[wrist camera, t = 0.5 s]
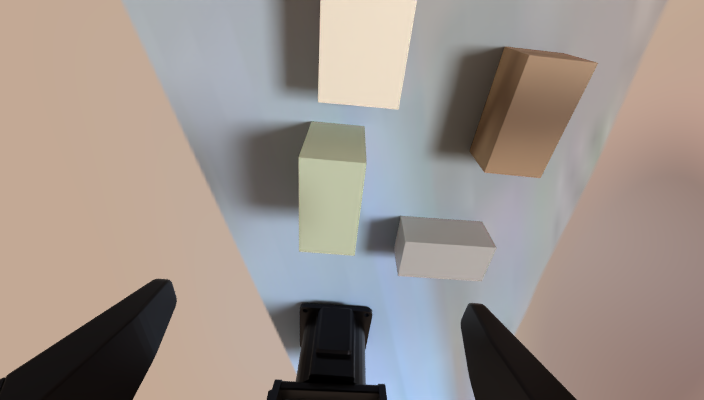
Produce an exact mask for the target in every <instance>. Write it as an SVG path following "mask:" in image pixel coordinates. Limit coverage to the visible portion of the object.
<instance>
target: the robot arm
mask: <svg viewBox="0 0 704 400" xmlns="http://www.w3.org/2000/svg"><path fill="white" fill-rule="evenodd" d="M176 302H177V300H176V295H175V291H174V288H173V285H172V282H171V281H170V280H168V279H155V280H152V281H151V282H150V283H148V284H146V285H145V286H143V287H142V288H140V289H139V290H137V291H135V292H134V293H133V294H131V295H129V296H128V297H126V298H125V299H124V300H122V301H120V302H119V303H117V304H116V305H114V306H113V307H111V308H109V309H108V310H106V311H105V312H103V313H102V314H100V315H99V316H97V317H95V318H94V319H92V320H91V321H90V322H88V323H86V324H85V325H83V326H82V327H80V328H79V329H77V330H76V331H74V332H72V333H71V334H69V335H68V336H66V337H65V338H63V339H62V340H60V341H59V342H57V343H56V344H54V345H52V346H51V347H49V348H48V349H46V350H45V351H43V352H42V353H40V354H39V355H37V356H36V357H34V358H32V359H31V360H30V361H28V362H26V363H25V364H23V365H22V366H20V367H19V368H17V369H16V370H14V371H12V372H11V373H10V374H8V375H7V376H6V378H2V379H0V400H133V398H134V396H135V394H136V392H137V390H138V388H139V386H140V384H141V383H142V381H143V379H144V377H145V375H146V373H147V371H148V369H149V367H150V366H151V364H152V362H153V359H154V357H155V355H156V353H157V351H158V348H159V346H160V343H161V341H162V338H163V336H164V333H165V331H166V329H167V326H168V323H169V321H170V318H171V316H172V314H173V311H174V309H175V306H176ZM371 319H372V310H371V309H370V308H362V307H348V306H335V305H321V304H307V303H306V304H302V305H301V307H300V347H301V352H300V359H299V365H298V371H297V377H296V382H290V381H289V382H288V381H282V380H275V381H274V385H273V388H272V390H270V391H268V396H267V400H387V395H386V388H385V384H378V385H366V381H365V349H366V344H367V339H368V334H369V329H370V324H371ZM461 331H462V337H463V343H464V349H465V355H466V361H467V367H468V372H469V378H470V382H471V386H472V389H473V393H474V397H475V400H576V398H575V397H574V396H573V395H572V394H571V393H570V392H569V391H568V390H567V389H566V388H565V387H564V386H563V385H562V384H561V383H560V382H559V381H558V380H557V379H556V378H555V377H554V376H553V375H552V374H551V373H550V372H549V371H548V370H547V369H546V368H545V367H544V366H543V365H542V364H541V363H540V362H539V361H538V360H537V359H536V358H535V357H534V355H533V354H532V353H531V352H529V350H528V349H527V348H526V347H525V346H524V345H523V344H522V343H521V342H520V341H519V340H518V339H517V338H516V337H515V336H514V335H513V334H512V333H511V332H510V331H509V330H508V329H507V328H506V327H505V326H504V325H503V324H502V323H501V322H500V321H499V320H498V319H497V318H496V317H495V316H494V315H493V314H492V313H491V312H490V311H489V309H488V308H487V307H486V306H484V305H483V304H478V303H470V304H468V306H467V308H466V310H465V312H464V315H463V317H462V319H461Z"/></svg>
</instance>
